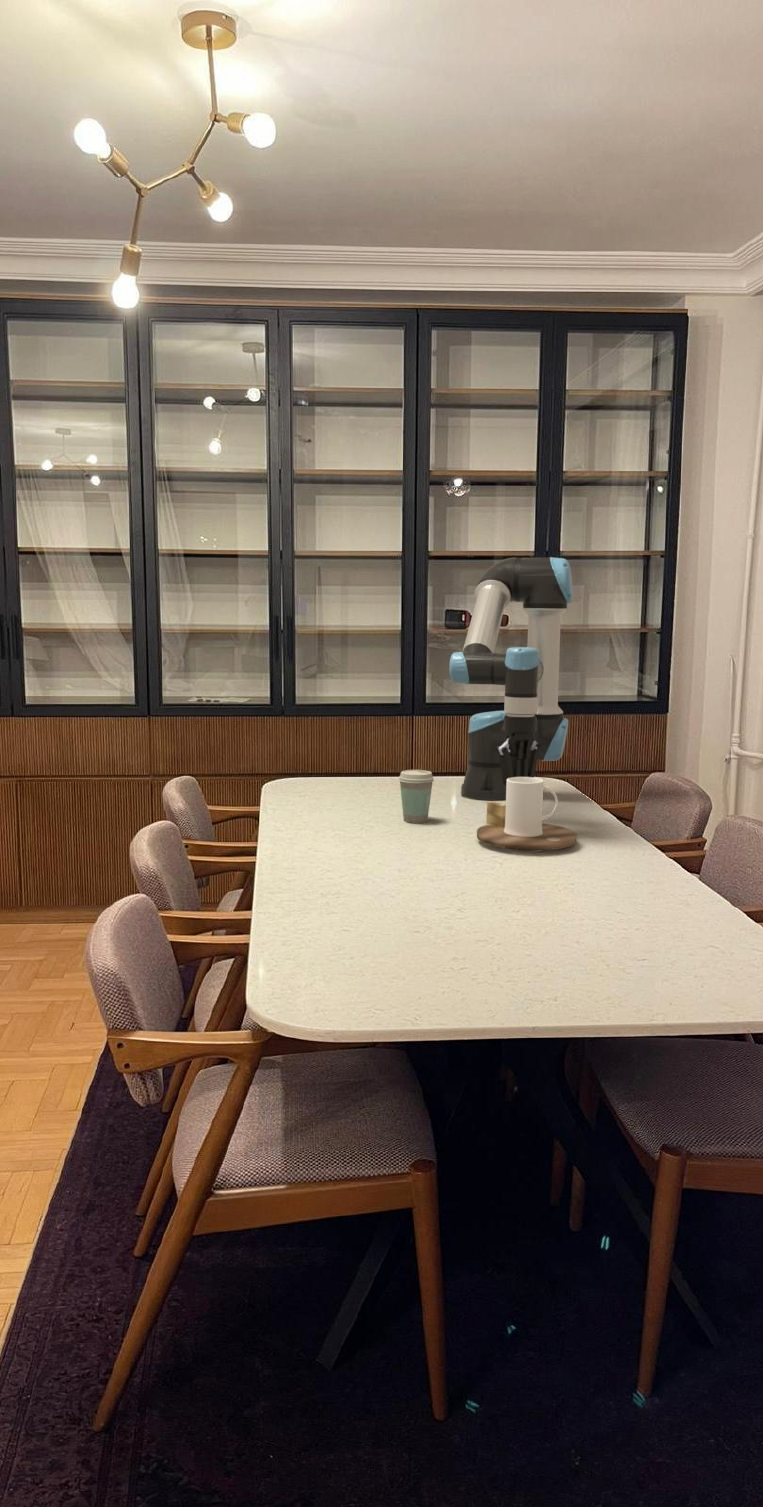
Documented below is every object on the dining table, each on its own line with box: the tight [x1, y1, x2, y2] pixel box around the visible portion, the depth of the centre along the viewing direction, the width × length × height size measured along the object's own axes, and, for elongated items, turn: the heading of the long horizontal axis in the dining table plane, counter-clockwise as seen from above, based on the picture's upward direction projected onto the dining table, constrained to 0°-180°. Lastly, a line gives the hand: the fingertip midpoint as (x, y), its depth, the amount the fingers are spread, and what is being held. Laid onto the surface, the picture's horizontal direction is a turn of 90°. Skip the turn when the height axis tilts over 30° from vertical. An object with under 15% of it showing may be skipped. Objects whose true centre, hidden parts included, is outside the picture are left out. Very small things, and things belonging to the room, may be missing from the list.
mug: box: [504, 777, 559, 837], centre depth 230 cm, size 12×8×12 cm
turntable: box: [476, 800, 578, 851], centre depth 231 cm, size 23×22×6 cm
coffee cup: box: [398, 769, 435, 824], centre depth 253 cm, size 8×8×12 cm
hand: (517, 815), depth 242 cm, fingers closed
